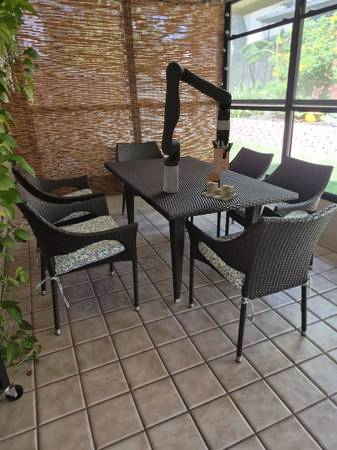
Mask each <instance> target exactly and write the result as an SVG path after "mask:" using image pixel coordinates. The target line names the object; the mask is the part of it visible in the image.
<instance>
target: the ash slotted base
mask: <svg viewBox="0 0 337 450" xmlns="http://www.w3.org/2000/svg"><path fill="white" fill-rule="evenodd" d="M206 182H207V181H206ZM201 196H202V197H203V196H204V197H208V198H210V199H215V200H220V201H223V202H227V201H229V200H233V199H234V198H237V197H239V193H235V186H233V185H230V184H223V185H222V187H221V188H220V187H219V188H218V183H215V182H207V189H206V191H205V192H204V191H203V192H201Z"/></svg>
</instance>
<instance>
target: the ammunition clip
mask: <svg viewBox="0 0 337 450" xmlns="http://www.w3.org/2000/svg"><path fill="white" fill-rule="evenodd" d="M220 173H221V172H220ZM220 173H213V170H212V172H211V170H210V171H207V175H206V182H205V190H207V182H215V183H218V188H220V187H221V175H220Z"/></svg>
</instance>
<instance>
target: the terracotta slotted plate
mask: <svg viewBox="0 0 337 450" xmlns="http://www.w3.org/2000/svg"><path fill="white" fill-rule="evenodd" d="M227 147H228V145H227ZM230 152H231V151H230ZM230 152H227V155H226V159H223V148H222V147H220V148H215V149H214V148H213V164H212V165H213V167H212V168H213V169H212V171H213V174H214V173H215V174H216V173H221V171H225V172H226V171H229V170H230V169H229V168H230V167H229V166H230V156H231V155H230V154H231V153H230Z"/></svg>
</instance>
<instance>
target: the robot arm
mask: <svg viewBox="0 0 337 450" xmlns="http://www.w3.org/2000/svg"><path fill="white" fill-rule="evenodd" d="M181 82H182V83H185V84H187V85H189V86H191V87H192V88H194V89H195V90H196V91H198V92H199V93H202V94H203V95H204V96H206V97H209V98H211V99H213V100H214V101H216V102H217V103H219V105H218V111H217V122H216V138H215V140H212V141H211V143H212V147H213V150H214V149H215V148H220V147H222V148H223V159H226V155H227V152H231V149H232V147H233V145H234V142H233V141H230V135H231V134H230V132H231V109H232V99H233V95H232V93H231V92H230V91H229V90H226V89H223V88H222V87H219V86H218V85H216V84H215V83H213V82H212V81H210V80H207V79H205V78H204V77H201V76H199V75H198V74H196V73H194V72H192V71H190V69H188V68H187V67H186V66H184V65H183V64H182V63H181V62H178V61H171V62H170V63H168V65H167V66H166V69H165V85H166V87H165V88H166V90H165V101H164V114H163V115H164V117H163V129H162V131H163V132H162V138H161V144H160V148H161V152H162V154H163V155H164V156H167V157H166V158H165V160H164V162H163V177H162V181H163V182H162V183H163V185H162V186H163V192H165V193H167V194H176V193H178V192H179V185H180V184H179V182H180V181H179V180H180V179H179V177H180V176H179V165H180V164H179V163H180V160H181V144H180V141H179V140H178V139H177V138H174V137H173V136H174V131H175V129H176V126H177V125H178V122H179V120H180V116H181V98H180V92H179V91H180V83H181ZM227 146H228V147H227Z"/></svg>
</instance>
